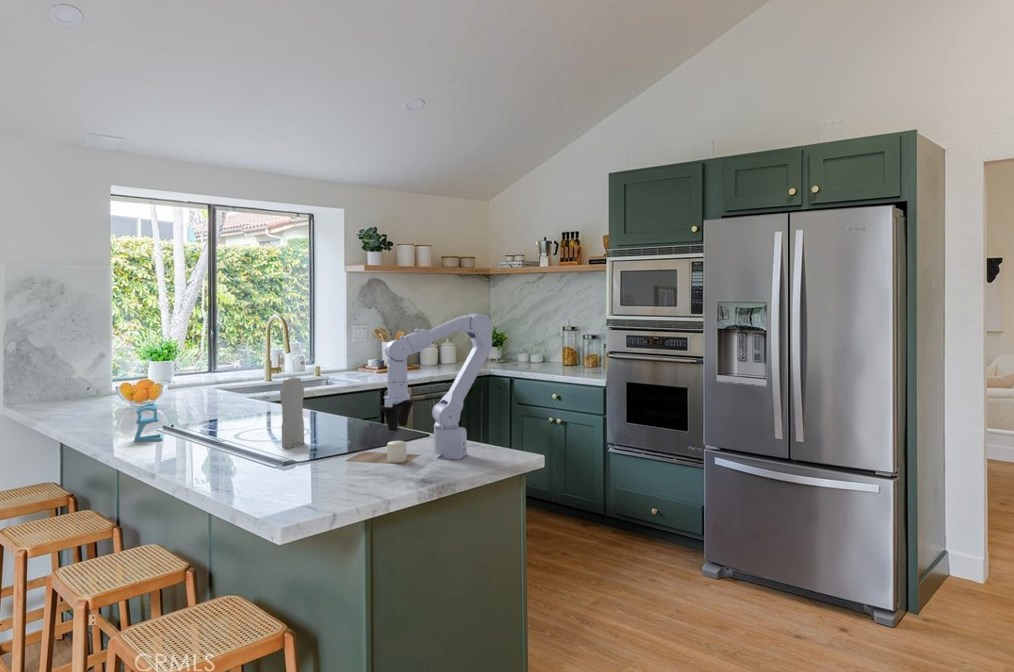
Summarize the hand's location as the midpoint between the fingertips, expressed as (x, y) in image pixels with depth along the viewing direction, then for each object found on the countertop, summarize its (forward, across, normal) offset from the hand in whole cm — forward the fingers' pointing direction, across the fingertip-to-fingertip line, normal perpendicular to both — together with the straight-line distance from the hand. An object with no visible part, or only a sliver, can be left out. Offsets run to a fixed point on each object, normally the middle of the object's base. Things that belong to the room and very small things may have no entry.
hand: (398, 428), depth 205 cm
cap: (+8, +6, +2) cm, 10 cm away
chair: (+10, -9, -92) cm, 93 cm away
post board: (+9, +4, -3) cm, 11 cm away
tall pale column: (+10, -11, -40) cm, 43 cm away
